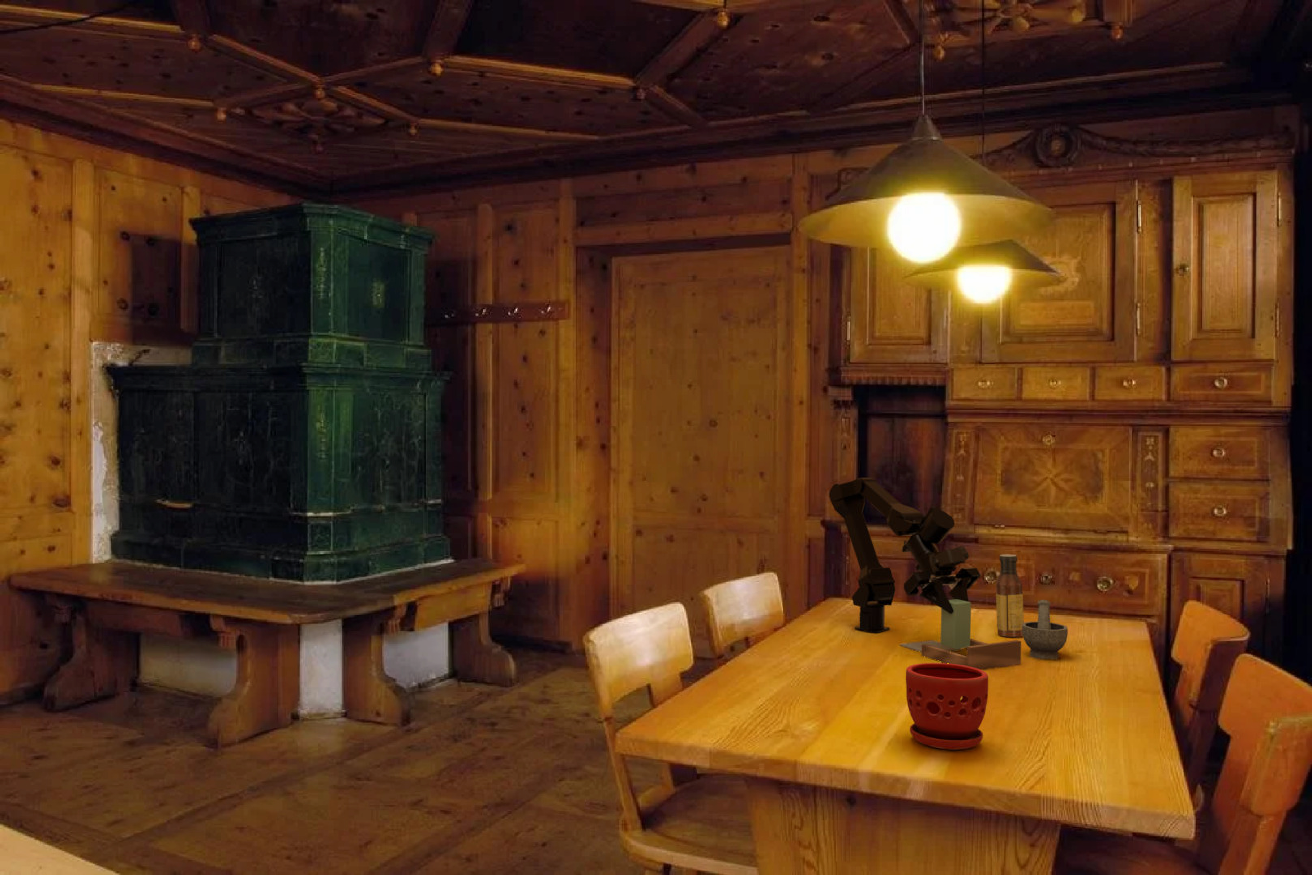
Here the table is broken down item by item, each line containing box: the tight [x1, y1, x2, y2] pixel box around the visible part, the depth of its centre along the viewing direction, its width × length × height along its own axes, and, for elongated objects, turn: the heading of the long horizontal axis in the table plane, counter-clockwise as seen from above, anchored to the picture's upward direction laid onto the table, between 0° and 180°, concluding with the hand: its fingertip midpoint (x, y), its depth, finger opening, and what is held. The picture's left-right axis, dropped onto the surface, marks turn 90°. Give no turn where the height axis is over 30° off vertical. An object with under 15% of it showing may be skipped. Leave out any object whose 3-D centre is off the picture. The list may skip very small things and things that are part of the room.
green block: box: [940, 598, 972, 649], centre depth 224 cm, size 4×4×10 cm
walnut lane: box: [921, 638, 1022, 671], centre depth 220 cm, size 15×14×5 cm
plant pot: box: [905, 662, 989, 752], centre depth 165 cm, size 13×13×12 cm
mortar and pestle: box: [1022, 599, 1069, 661], centre depth 224 cm, size 11×9×12 cm
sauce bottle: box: [995, 553, 1025, 638], centre depth 245 cm, size 7×6×20 cm
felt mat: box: [899, 639, 964, 653], centre depth 232 cm, size 10×10×1 cm
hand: (960, 611), depth 223 cm, fingers closed on green block, 4 cm apart
